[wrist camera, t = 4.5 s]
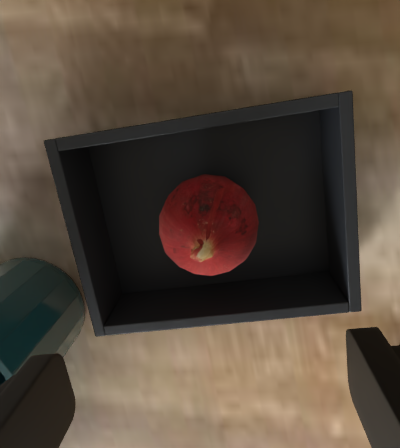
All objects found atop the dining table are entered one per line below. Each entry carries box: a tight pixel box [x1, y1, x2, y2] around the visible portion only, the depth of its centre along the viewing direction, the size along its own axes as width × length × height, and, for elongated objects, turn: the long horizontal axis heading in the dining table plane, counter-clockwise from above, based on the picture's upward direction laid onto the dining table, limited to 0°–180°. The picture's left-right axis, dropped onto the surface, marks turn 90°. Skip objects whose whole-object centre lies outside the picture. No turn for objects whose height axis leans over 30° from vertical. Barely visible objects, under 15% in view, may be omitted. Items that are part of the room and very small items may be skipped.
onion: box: [159, 174, 259, 276], centre depth 22 cm, size 6×6×8 cm
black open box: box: [44, 91, 361, 336], centre depth 24 cm, size 16×12×5 cm
